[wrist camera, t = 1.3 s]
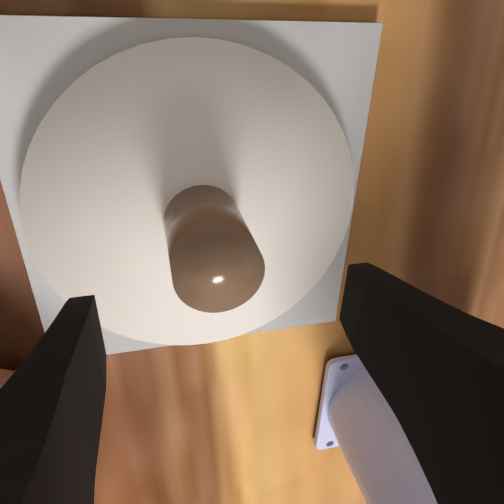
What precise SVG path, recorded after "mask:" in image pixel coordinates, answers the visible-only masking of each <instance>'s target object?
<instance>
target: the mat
mask: <svg viewBox="0 0 504 504" xmlns="http://www.w3.org/2000/svg"><path fill="white" fill-rule="evenodd" d="M382 27H383V23H377V22H330V21H281V20H233V19H184V18H136V17H87V16H39V15H0V180H1V183H2V187H3V190H4V194H5V197H6V201H7V204H8V207H9V211H10V214H11V218H12V221H13V225H14V228H15V232H16V235H17V239H18V242H19V246H20V249H21V252H22V256H23V259H24V263H25V266H26V270H27V273H28V277H29V280H30V284H31V287H32V291H33V294H34V298H35V301H36V304H37V308H38V311H39V315H40V318H41V322H42V325H43V329H44V332H46V331H47V329H48V328H49V326H50V325H51V323H52V322H53V320H54V319H55V318H56V316H57V315H58V313H59V312H60V310H61V308H62V307H63V305H64V304H65V301H64V300H63V299H62V298H61V297H60V296H59V295H58V294H57V293H56V292H55V291H54V290H53V288H52V287H51V286H50V284H49V283H48V282H47V280H46V279H45V278H44V276H43V275H42V274H41V272H40V270H39V268H38V266H37V264H36V263H35V261H34V259H33V257H32V255H31V252H30V250H29V247H28V244H27V241H26V239H25V236H24V231H23V226H22V221H21V216H20V196H19V191H20V183H21V174H22V168H23V165H24V161H25V158H26V154H27V151H28V147H29V145H30V143H31V141H32V139H33V136H34V134H35V132H36V130H37V128H38V126H39V124H40V122H41V121H42V120H43V118H44V117H45V115H46V114H47V112H48V111H49V109H50V108H51V106H52V105H53V104H54V102H55V101H56V99H57V98H58V97H59V96H60V95H61V94H62V93H63V92H64V91H65V90H66V89H67V88H68V87H69V85H70V84H71V83H72V82H73V81H74V80H75V79H77V78H78V77H79V76H81V75H82V74H83V73H84V72H86V71H87V70H88V69H90V68H91V67H92V66H94V65H95V64H97V63H99V62H100V61H102V60H104V59H106V58H108V57H109V56H111V55H113V54H115V53H117V52H119V51H122V50H124V49H127V48H130V47H132V46H135V45H138V44H140V43H144V42H149V41H154V40H159V39H163V38H171V37H187V36H196V37H208V38H218V39H222V40H227V41H231V42H235V43H240V44H243V45H245V46H248V47H250V48H253V49H255V50H258V51H260V52H263V53H265V54H268V55H270V56H272V57H273V58H275V59H277V60H279V61H280V62H282V63H284V64H285V65H287V66H289V67H290V68H292V69H293V70H294V71H295V72H297V73H298V74H299V75H301V76H302V77H303V78H304V79H306V80H307V81H308V82H309V83H310V84H311V85H312V86H313V87H314V88H315V90H316V91H317V92H318V93H319V94H320V95H321V96H322V97H323V98H324V100H325V101H326V103H327V104H328V106H329V107H330V109H331V110H332V111H333V113H334V114H335V116H336V118H337V120H338V122H339V124H340V126H341V128H342V130H343V132H344V135H345V138H346V141H347V144H348V147H349V150H350V155H351V161H352V166H353V176H354V195H353V206H352V211H351V216H350V220H349V225H348V228H347V231H346V234H345V236H344V239H343V242H342V244H341V246H340V248H339V250H338V252H337V254H336V256H335V258H334V260H333V261H332V263H331V264H330V266H329V268H328V269H327V271H326V272H325V274H324V275H323V276H322V277H321V279H320V280H319V281H318V282H317V284H316V285H315V286H314V287H313V288H312V289H311V290H310V291H309V292H308V293H307V294H306V295H305V296H304V297H303V298H302V299H301V300H300V301H299V302H297V303H296V304H295V305H294V306H292V307H291V308H290V309H289V310H287V311H286V312H284V313H283V314H281V315H280V316H278V317H277V318H275V319H274V320H272V321H270V322H268V323H266V324H264V325H263V326H261V327H259V328H257V329H254V330H252V331H249V332H247V333H244V334H251V333H258V332H265V331H272V330H278V329H285V328H292V327H299V326H306V325H312V324H319V323H326V322H333V321H335V319H336V313H337V307H338V301H339V295H340V288H341V282H342V276H343V270H344V263H345V257H346V251H347V245H348V238H349V232H350V226H351V220H352V214H353V207H354V201H355V195H356V189H357V182H358V176H359V170H360V164H361V158H362V151H363V145H364V139H365V133H366V126H367V120H368V114H369V108H370V101H371V95H372V89H373V83H374V77H375V70H376V64H377V58H378V52H379V45H380V39H381V33H382ZM101 330H102V335H103V340H104V345H105V350H106V355H108V354H115V353H122V352H129V351H136V350H142V349H149V348H156V347H163V346H170V345H165V344H155V343H149V342H144V341H139V340H135V339H131V338H128V337H125V336H122V335H119V334H116V333H114V332H112V331H110V330H107V329H105V328H103V327H101ZM244 334H242V335H244Z"/></svg>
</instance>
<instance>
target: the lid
mask: <svg viewBox="0 0 504 504" xmlns="http://www.w3.org/2000/svg"><path fill="white" fill-rule="evenodd" d="M353 195H354V176H353V166H352V161H351V155H350V150H349V147H348V144H347V141H346V138H345V135H344V132H343V130H342V128H341V126H340V124H339V122H338V120H337V118H336V116H335V114H334V113H333V111H332V110H331V109H330V107H329V106H328V104H327V103H326V101H325V100H324V98H323V97H322V96H321V95H320V94H319V93H318V92H317V91H316V90H315V88H314V87H313V86H312V85H311V84H310V83H309V82H308V81H307V80H306V79H304V78H303V77H302V76H301V75H299V74H298V73H297V72H295V71H294V70H293V69H292V68H290V67H289V66H287V65H285V64H284V63H282V62H280V61H279V60H277V59H275V58H273V57H272V56H270V55H268V54H265V53H263V52H260V51H258V50H255V49H253V48H250V47H248V46H245V45H243V44H240V43H235V42H231V41H227V40H222V39H218V38H208V37H196V36H187V37H171V38H163V39H159V40H154V41H149V42H144V43H140V44H138V45H135V46H132V47H130V48H127V49H124V50H122V51H119V52H117V53H115V54H113V55H111V56H109V57H108V58H106V59H104V60H102V61H100V62H99V63H97V64H95V65H94V66H92V67H91V68H90V69H88V70H87V71H86V72H84V73H83V74H82V75H81V76H79V77H78V78H77V79H75V80H74V81H73V82H72V83H71V84H70V85H69V87H68V88H67V89H66V90H65V91H64V92H63V93H62V94H61V95H60V96H59V97H58V98H57V99H56V101H55V102H54V104H53V105H52V106H51V108H50V109H49V111H48V112H47V114H46V115H45V117H44V118H43V120H42V121H41V122H40V124H39V126H38V128H37V130H36V132H35V134H34V136H33V139H32V141H31V143H30V145H29V147H28V151H27V154H26V158H25V161H24V165H23V168H22V174H21V183H20V191H19V196H20V216H21V221H22V226H23V231H24V236H25V239H26V241H27V244H28V247H29V250H30V252H31V255H32V257H33V259H34V261H35V263H36V264H37V266H38V268H39V270H40V272H41V274H42V275H43V276H44V278H45V279H46V280H47V282H48V283H49V284H50V286H51V287H52V288H53V290H54V291H55V292H56V293H57V294H58V295H59V296H60V297H61V298H62V299H63V300H64V301H65V302H66V301H67V300H68V299H69V298H72V297H80V296H89V295H95V300H96V305H97V310H98V315H99V320H100V325H101V327H103V328H105V329H107V330H110V331H112V332H114V333H116V334H119V335H122V336H125V337H128V338H131V339H135V340H139V341H144V342H149V343H155V344H165V345H195V344H205V343H211V342H216V341H221V340H226V339H229V338H232V337H236V336H239V335H242V334H244V333H247V332H249V331H252V330H254V329H257V328H259V327H261V326H263V325H264V324H266V323H268V322H270V321H272V320H274V319H275V318H277V317H278V316H280V315H281V314H283V313H284V312H286V311H287V310H289V309H290V308H291V307H292V306H294V305H295V304H296V303H297V302H299V301H300V300H301V299H302V298H303V297H304V296H305V295H306V294H307V293H308V292H309V291H310V290H311V289H312V288H313V287H314V286H315V285H316V284H317V282H318V281H319V280H320V279H321V277H322V276H323V275H324V274H325V272H326V271H327V269H328V268H329V266H330V264H331V263H332V261H333V260H334V258H335V256H336V254H337V252H338V250H339V248H340V246H341V244H342V242H343V239H344V236H345V234H346V231H347V228H348V225H349V220H350V216H351V211H352V206H353Z"/></svg>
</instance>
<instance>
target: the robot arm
mask: <svg viewBox="0 0 504 504" xmlns="http://www.w3.org/2000/svg"><path fill="white" fill-rule="evenodd" d="M339 319H340V321H341V323H342V326H343V328H344V330H345V333H346V335H347V337H348V339H349V341H350V343H351V346H352V348H353V349H354V351H355V352H356V354H354V355H348V356H342V357H337V358H332V359H331V360H329V361H328V362H327V364H326V368H325V375H324V381H323V387H322V394H321V400H320V406H319V413H318V419H317V426H316V432H315V438H314V445H315V447H316V449H319V450H323V449H327V448H332V447H337V446H340V448H341V450H342V452H343V454H344V456H345V458H346V460H347V463H348V465H349V467H350V469H351V471H352V473H353V475H354V477H355V480H356V482H357V484H358V486H359V488H360V490H361V492H362V494H363V497H364V499H365V501H366V503H367V504H504V329H503V328H501V327H498V326H496V325H493V324H491V323H488V322H486V321H483V320H481V319H479V318H476V317H474V316H472V315H469V314H467V313H465V312H463V311H461V310H459V309H457V308H454V307H452V306H450V305H448V304H446V303H444V302H442V301H440V300H438V299H436V298H434V297H432V296H430V295H428V294H426V293H425V292H423V291H421V290H419V289H417V288H415V287H413V286H412V285H410V284H408V283H406V282H404V281H402V280H401V279H399V278H397V277H395V276H393V275H391V274H389V273H388V272H386V271H384V270H382V269H380V268H378V267H376V266H374V265H371V264H369V263H360V264H351V265H348V271H347V277H346V283H345V289H344V295H343V301H342V306H341V312H340V318H339ZM105 392H106V350H105V345H104V340H103V335H102V330H101V325H100V320H99V315H98V310H97V305H96V300H95V295H89V296H80V297H72V298H69V299H68V300H67V301H66V302H65V304H64V305H63V307H62V308H61V310H60V312H59V313H58V315H57V316H56V318H55V319H54V320H53V322H52V323H51V325H50V326H49V328H48V329H47V331H46V332H45V333H44V335H43V336H42V337H41V339H40V340H39V341H38V343H37V344H36V345H35V347H34V348H33V349H32V351H31V352H30V353H29V355H28V356H27V357H26V359H25V360H24V361H23V362H22V363H21V365H20V366H19V367H18V368H17V369H16V371H15V372H14V373H13V374H12V375H11V377H10V378H9V379H8V380H7V381H6V382H5V384H4V385H3V386H2V387H1V388H0V504H94V484H95V473H96V463H97V456H98V448H99V440H100V432H101V425H102V417H103V409H104V401H105Z"/></svg>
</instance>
